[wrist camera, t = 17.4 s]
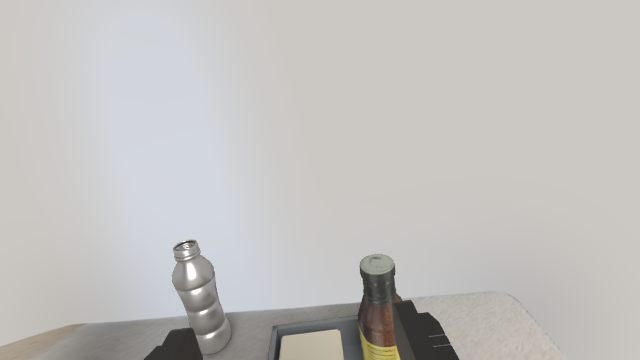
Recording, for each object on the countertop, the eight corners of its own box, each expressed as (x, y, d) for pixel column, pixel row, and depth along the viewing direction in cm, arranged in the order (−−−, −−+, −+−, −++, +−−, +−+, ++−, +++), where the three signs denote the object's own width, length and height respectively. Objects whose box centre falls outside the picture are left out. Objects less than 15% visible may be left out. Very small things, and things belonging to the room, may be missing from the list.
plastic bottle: (214, 365, 49) (181, 260, 43) (187, 352, 52) (153, 252, 46) (241, 336, 54) (215, 238, 48) (215, 326, 58) (188, 233, 52)
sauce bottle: (383, 357, 45) (372, 241, 39) (421, 381, 41) (417, 255, 35) (356, 389, 41) (340, 265, 35) (396, 420, 37) (386, 284, 31)
